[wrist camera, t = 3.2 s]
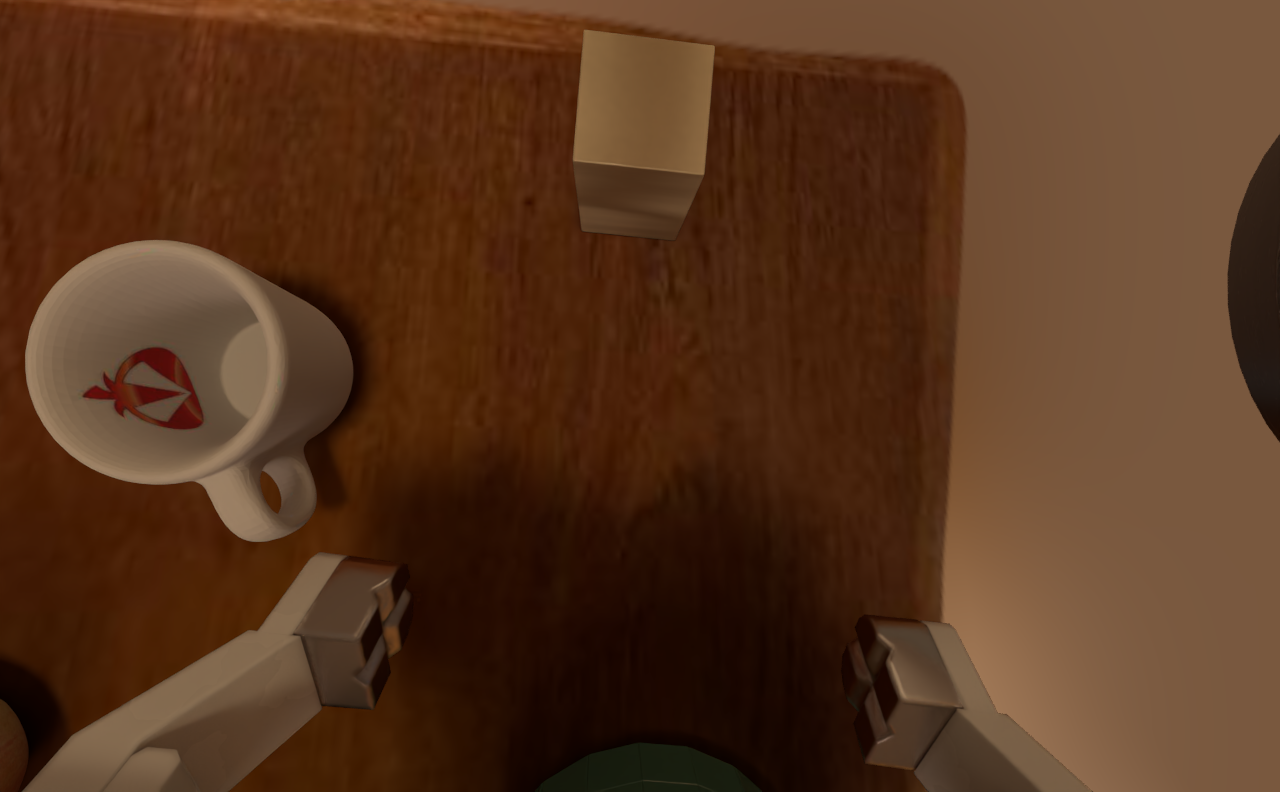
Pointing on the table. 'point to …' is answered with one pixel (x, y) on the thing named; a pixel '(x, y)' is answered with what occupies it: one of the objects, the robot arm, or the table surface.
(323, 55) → the table surface
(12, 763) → the fruit
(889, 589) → the table surface
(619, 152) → the plain beige block
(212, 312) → the cup
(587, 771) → the green pet bowl
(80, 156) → the table surface
